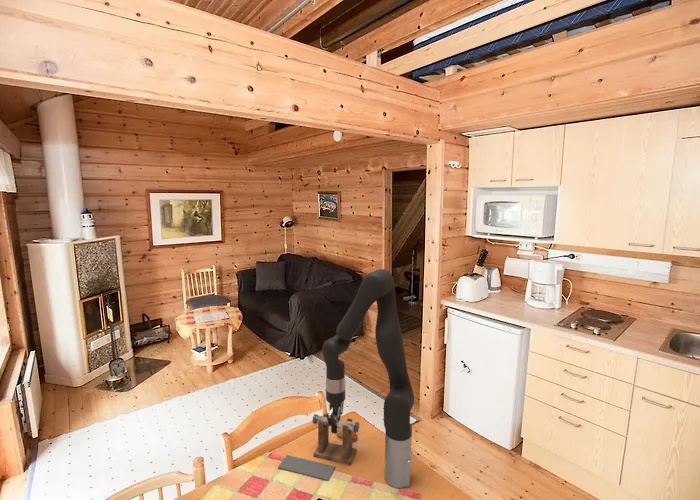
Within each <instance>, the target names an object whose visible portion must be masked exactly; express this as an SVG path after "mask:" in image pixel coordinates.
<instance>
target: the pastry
mask: <svg viewBox="0 0 700 500" xmlns="http://www.w3.org/2000/svg"><path fill="white" fill-rule="evenodd" d="M336 435H337V437H338V438H340V439H342V440H343V429H341V428H337V433H336ZM358 437H359V436H358V434H357V432H355V431H352V443H354V442H356V441H357V439H358Z"/></svg>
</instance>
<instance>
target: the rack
mask: <svg viewBox="0 0 700 500" xmlns="http://www.w3.org/2000/svg"><path fill="white" fill-rule="evenodd" d="M322 416H324V417H327V413H323V415H322ZM346 421H351V422H353V418H347V419H346ZM329 427H330V426H326V425H324V422H323V421H319V422H318V424H317V431H318V432H317V435H318V436H317V437H318V438H317V439H318V441H317V442H318V443H317V444H318V445H317V447H316V449H315V450H314V452H313V457H314V458H317V459H322V460H324V461H330V462H334V463H338V464H343V465H347V466H352V463H353V461H354V459H355V456H356V454H357V452H358V451H357V448H355V447H353V442H352V431H351V430H349V426H343V439H342V445H341V444H338V443H333V442H329V439H330V438H329V436H330V435H329V433H330V431H329V429H330V428H329Z"/></svg>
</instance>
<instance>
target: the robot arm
mask: <svg viewBox="0 0 700 500" xmlns="http://www.w3.org/2000/svg"><path fill="white" fill-rule="evenodd" d="M395 286H396V285H395V279H394V277H393V275H392V274H391V272H390V271H388V270H387V269H383V268H380V269H377V270H373V271H371V272H368V273H367V274H365V276H364V277H363V279H362V280H361V283H360V285H359V288H358V290H357V292H356V295H355V297H354V299H353V301H352V303H351V305H350V306H349V308H348V310H347V311H346V312H345V315H344V316H343V317H342V318H341V321H340V322H339V324H338V325H337V327H336V330H335V331H336V334H335V335H334V336H332V337H331V338H329V339H327V340H325V341H324V343H323V344H322V349H321V350H322V356H323V360H324V363H325V368H326V371H325V372H326V373H325V374H326V375H325V376H326V379H325V400H326V401H327V402H328V403H329V406H328V407H329V408H328V410H329V412H327V413H326V414H327V420H328V424H329V425H331V426H330V431H331V433H332V434H336V435H337V429H338V428H337V419H340V420H341V418H342V415H343V412H344V405H345V403H344V402H345V400H346V376H345V375H346V374H345V372H346V370H345V368H346V367H345V363H344V361H343V360H341V359H339V358H340V357H339V356H340V355H342V354H344V353H345V352H346V351H347V350H348V348H349V347H350V345H351V343H352V342H353V341H352V340H353V338H354V336H355V335H356V334H357V332H358V330H359V329H360V328H361V326H362V324H363V322H364V321H365V317H366V315H367V313H368V311H369V309H370V308H371V306H372V305H373V304H374V303H376V306H377V307H376V308H377V314H376V315H377V316H376V323H375V329H374V330H375V331H374V333H375V335H374V336H375V342H376V348H377V352H378V356H379V358H380V360H381V362H382V363H383V365H384V367H385V369H386V372H387V375H388V381H389V382H388V383H389V392H388V394H387V395H386V396H385V398H384V400H383V426H384V429H385V437H384V438H385V439H384V440H385V441H384V443H385V445H384V480H385V482H386V483H387V485H389V486H391V487H392V488H394V489H395V488H396V489H397V488H398V489H403V488H410V485H411V479H412V473H413V471H412V470H413V469H412V468H413V466H412V465H413V451H412V439H413V435H412V434H413V433H412V432H413V427H412V425H411V411H412V409H413V407H414V405H415V395H414V391H413V387H412V383H411V379H410V376H409V372H408V368H407V359H406V353H405V346H404V340H403V335H402V330H401V325H400V319H399V315H398V310H397V309H398V308H397V301H396V300H397V298H396V290H395V289H396V288H395Z"/></svg>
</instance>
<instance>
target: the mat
mask: <svg viewBox="0 0 700 500" xmlns="http://www.w3.org/2000/svg"><path fill="white" fill-rule="evenodd" d="M277 469H278V470H283V471H287V472H289V473H294V474H298V475H301V474H302V475H301V476H305V475H306V477H309V476H310V478H313V479H318V480H321V481H326V482H329V481H330V479H331V477H332V475H333V473H334V470H335V469H336V466H335V465H330V464H327V463H323V462H319V461H314V460H309V459H306V458H301V457H298V456H293V455H289V454H286V456H284V458H283V459H282V461H281V462H280V464H278V466H277Z"/></svg>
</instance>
